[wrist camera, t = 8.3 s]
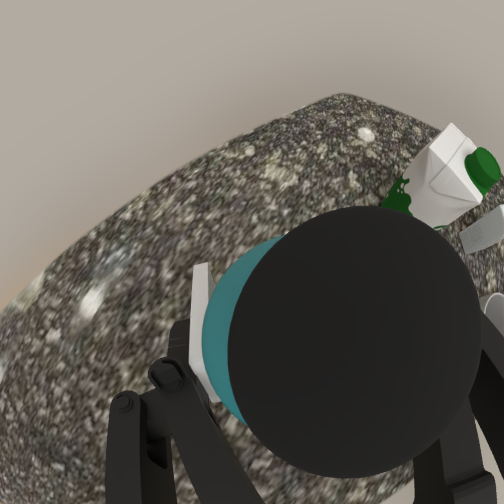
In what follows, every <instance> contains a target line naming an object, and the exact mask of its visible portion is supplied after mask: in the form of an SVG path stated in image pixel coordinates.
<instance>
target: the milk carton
mask: <svg viewBox="0 0 504 504" xmlns="http://www.w3.org/2000/svg"><path fill="white" fill-rule="evenodd" d="M500 177H501V171H500V167H499V165H498V163H497V161H496V159H495V158H494V157H493V155H492V154H491V153H490V152H489V151H487V150H486V149H484V148H482V147H479V148H477V147H476V146H475V145H474V144H473V142H472V141H471V140H470V139H469V138H468V137H465V136H464V135H463V134H462V133H461V131H459V129H458V128H456V126H454V125H453V124H452V123H450V124H449V125H448V126H447V127H446V128H445V129H444V130H443V131H441V132H440V133H439V134H438V135H437V136H436V137H435V138H434V139H433V140H432V141H431V142H429V143H428V144H427V145H426V146H425V147H424V149H423V150H422V151H421V152H420V153H419V154H418V155H417V156H416V157H415V158H414V159H413V161H412V162H411V163H410V165H409V166H408V167H407V169H406V170H405V171H404V172H403V174H402V175H401V176H400V177H399V179H398V180H397V181H396V183H395V184H394V185H393V187H392V188H391V189H390V191H389V192H388V194H387V196H386V197H385V199H384V201H383V203H382V205H381V206H380V207H385V208H390V209H393V210H397V211H401V212H403V213H406V214H408V215H411V216H414V217H415V218H417V219H419V220H421V221H422V222H424V223H426V224H427V225H429V226H430V227H431V228H433V229H434V230H436V231H437V232H438V231H440V230H441V229H443V228H444V227H446V226H447V225H448V224H450V223H451V222H453V221H454V220H456V219H457V218H458V217H460V216H461V215H463V214H464V213H465V212H467V211H469V210H470V209H472V208H474V207H475V206H477V205H479V204H480V203H481V200H482V199H483V198H484V197H485V194H486V193H487V192H488V191H489V190H490V188H491V186H492V185H493V184H495V183H496V182H497V181H498V180H499V179H500Z"/></svg>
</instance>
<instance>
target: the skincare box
mask: <svg viewBox="0 0 504 504" xmlns="http://www.w3.org/2000/svg"><path fill="white" fill-rule="evenodd" d="M459 236H460V239H461V243H462V246H463V249H464V252H465V255H467V254H470V253H474V252H477V251H480V250H483V249H485V248H487V247H489V246H491V245H493V244H495V243H497V242H499V241H500V240H502V239H504V204H503V205H499V206H498V207H496V208H495V209H493V210H492V211H491V212H489V213H488V214H486V215H485V216H483V217H482V218H480V219H479V220H477V221H476V222H474V223H473V224H471V225H470V226H468V227H467V228H465V229H464V230H462V231H461V232H459Z"/></svg>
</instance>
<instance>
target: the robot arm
mask: <svg viewBox="0 0 504 504" xmlns="http://www.w3.org/2000/svg"><path fill="white" fill-rule="evenodd" d="M214 289H215V284H214V281H213V277H212V274H211V271H210V268H209V265H208V262H207V263H202V264H198V265H194V270H193V284H192V300H191V318H190V319H188V320H183V321H178V322H175V323H174V325H173V327H172V328H171V330H170V336H169V345H168V347H169V348H168V354H167V357H163V358H160V359H158V360H157V361H155V362H154V363H153V364H152V365H151V366H150V368H149V371H148V378H149V379H150V381H151V382H152V383H153V385H154V386H155V387H156V388H155V389H153V390H151V391H148V392H146V393H143V394H141V395H138V394H137V393H136V392H133V391H129V390H126V391H123V392H120V393H119V394H117V395H116V396H115V397H114V398H113V400H112V402H111V405H110V413H109V423H108V435H107V449H106V475H105V497H106V504H177V498H176V491H175V482H174V474H173V464H172V453H171V441H170V435H173V438H174V441H175V443H176V446H177V449H178V451H179V454H180V456H181V459H182V461H183V464H184V466H185V469H186V471H187V473H188V476H189V478H190V480H191V483H192V485H193V487H194V489H195V491H196V494H197V496H198V498H199V500H200V502H201V504H265V503H264V501H263V500H262V498H261V497H260V495H259V494H258V492H257V490H256V489H255V487H254V486H253V484H252V482H251V481H250V479H249V478H248V476H247V474H246V473H245V471H244V469H243V467H242V466H241V464H240V462H239V461H238V459H237V457H236V455H235V454H234V452H233V450H232V448H231V446H230V444H229V443H228V441H227V439H226V437H225V435H224V433H223V431H222V429H221V427H220V426H219V424H218V422H217V420H216V418H215V416H214V414H213V412H212V410H211V408H210V407H209V398H210V400H211V402H212V403H215V402H221V400H220V399H219V397H218V396H217V394H216V393H215V391H214V389H213V387H212V385H211V383H210V381H209V378H208V375H207V373H206V370H205V366H204V361H203V357H202V346H201V338H202V326H203V320H204V315H205V312H206V308H207V305H208V302H209V300H210V297H211V295H212V293H213V291H214ZM481 314H482V325H483V339H482V350H481V357H480V362H479V367H478V371H477V374H476V378H475V381H474V383H473V386H472V388H471V391H470V393H469V395H468V397H467V399H466V401H465V403H464V405H463V407H462V409H461V410H460V412H459V413H458V415H457V416H456V418H455V419H454V421H453V422H452V423H451V425H450V426H449V427H448V428H447V430H446V431H445V432H444V433H443V434H442V435H441V436H440V437H439V438H438V439H437V440H436V441H435V442H434V443H433V444H432V445H431V446H430V447H429V448H427V449H426V450H425V451H423V452H422V453H421V454H419V455H418V456H416V457H415V458H413V467H414V488H415V498H414V502H413V504H497V495H496V484H495V479H494V476H493V475H492V474H491V473H490V472H488V471H486V470H485V469H484V467H483V462H482V456H481V449H480V444H479V438H478V433H477V429H476V424H475V420H474V416H475V418H476V420H477V422H478V424H479V426H480V428H481V430H482V432H483V434H484V436H485V438H486V440H487V442H488V445H489V447H490V449H491V451H492V454H493V455H494V458H495V460H496V463H497V465H498V468H499V470H500V473H501V475H502V477H503V479H504V337H503V335H502V334H501V333H500V332H499V330H498V329H497V328H496V327H495V326H494V324H493V323H492V322H491V321H490V320H489V318H488V317H487V316H486V315H485V314H484V313H483V311H482V310H481ZM473 414H474V416H473Z"/></svg>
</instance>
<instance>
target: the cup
mask: <svg viewBox="0 0 504 504" xmlns="http://www.w3.org/2000/svg"><path fill="white" fill-rule="evenodd" d="M479 302H480V307H481V310H482V311H483V313H484V314H485V315H486V316H487V317H488V318H489V320H490V321H491V322H492V323H493V324H494V326H495V327H496V328H497V329H498V330H499V332H500V333H501V334H502V335H503V337H504V295H502V294H501V293H494V294H490V295H487V296H483V297H479Z"/></svg>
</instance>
